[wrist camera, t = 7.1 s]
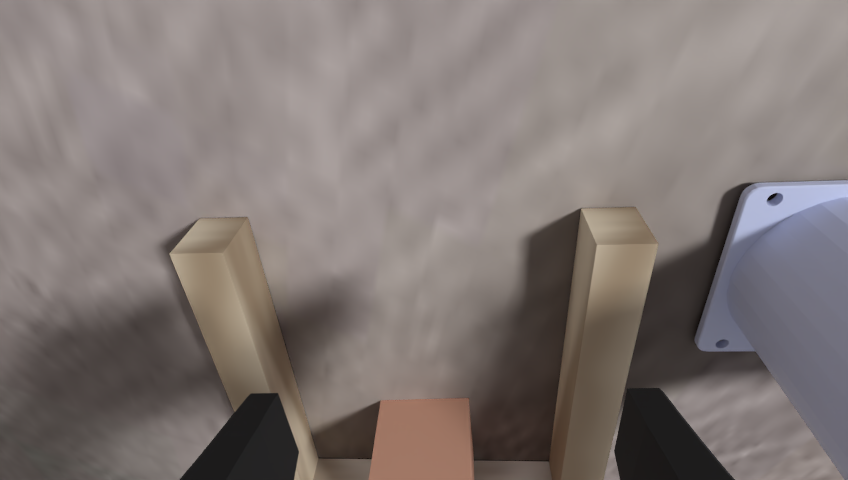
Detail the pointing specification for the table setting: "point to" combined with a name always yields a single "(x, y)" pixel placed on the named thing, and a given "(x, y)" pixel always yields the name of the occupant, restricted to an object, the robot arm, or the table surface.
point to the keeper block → (423, 440)
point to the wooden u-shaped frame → (581, 361)
